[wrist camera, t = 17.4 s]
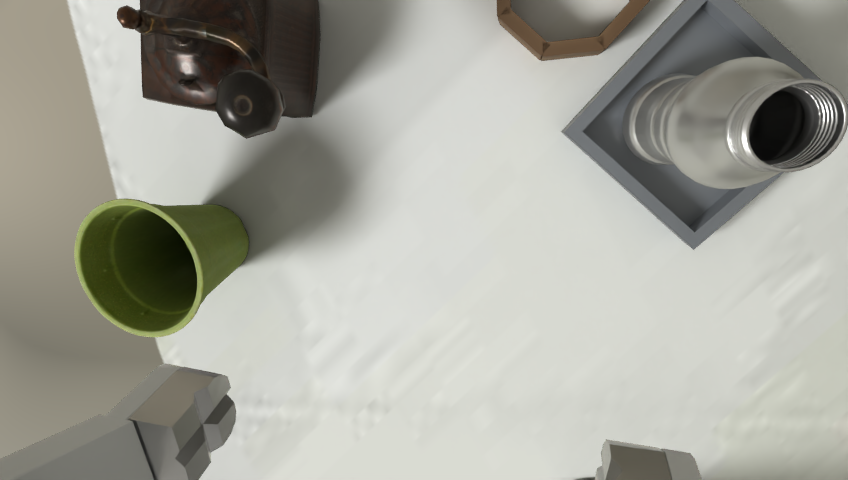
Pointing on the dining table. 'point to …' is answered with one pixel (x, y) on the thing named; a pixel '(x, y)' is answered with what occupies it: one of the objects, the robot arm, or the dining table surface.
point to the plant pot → (156, 261)
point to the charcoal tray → (662, 55)
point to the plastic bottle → (735, 122)
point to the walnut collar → (565, 47)
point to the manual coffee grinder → (230, 57)
